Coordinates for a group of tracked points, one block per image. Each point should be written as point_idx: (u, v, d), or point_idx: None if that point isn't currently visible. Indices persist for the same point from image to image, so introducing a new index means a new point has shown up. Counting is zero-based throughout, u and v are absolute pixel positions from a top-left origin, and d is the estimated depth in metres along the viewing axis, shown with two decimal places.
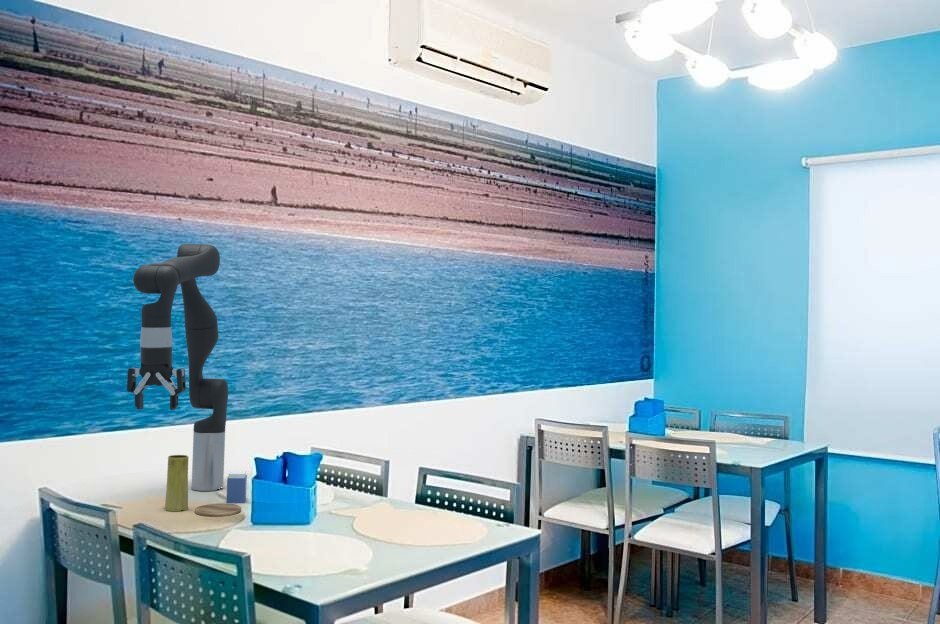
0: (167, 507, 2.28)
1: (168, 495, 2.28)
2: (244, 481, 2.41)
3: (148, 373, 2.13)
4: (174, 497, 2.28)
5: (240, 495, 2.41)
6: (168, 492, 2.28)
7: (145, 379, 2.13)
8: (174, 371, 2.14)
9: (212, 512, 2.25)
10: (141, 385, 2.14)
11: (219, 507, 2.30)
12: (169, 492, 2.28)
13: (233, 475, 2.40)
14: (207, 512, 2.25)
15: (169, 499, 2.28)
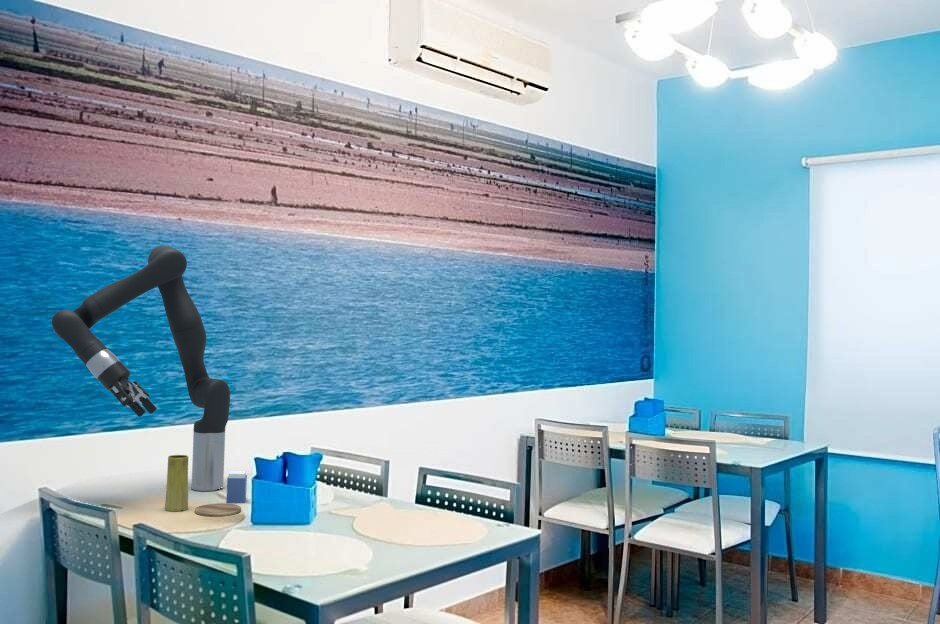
0: (167, 507, 2.28)
1: (168, 495, 2.28)
2: (244, 481, 2.41)
3: None
4: (174, 497, 2.28)
5: (240, 495, 2.41)
6: (168, 492, 2.28)
7: None
8: None
9: (212, 512, 2.25)
10: None
11: (219, 507, 2.30)
12: (169, 492, 2.28)
13: (233, 475, 2.40)
14: (207, 512, 2.25)
15: (169, 499, 2.28)
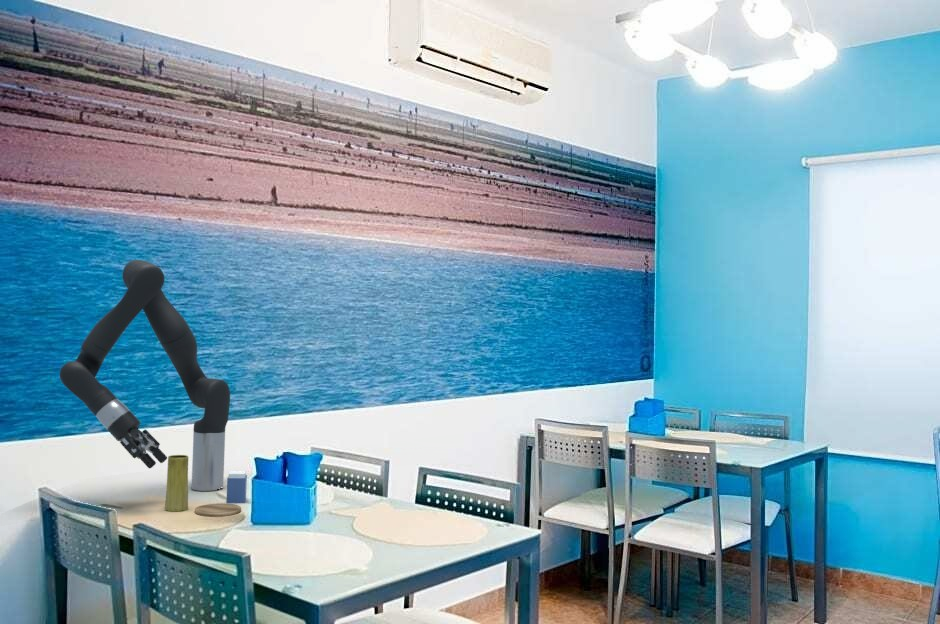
0: (167, 507, 2.28)
1: (168, 495, 2.28)
2: (244, 481, 2.41)
3: None
4: (174, 497, 2.28)
5: (240, 495, 2.41)
6: (168, 492, 2.28)
7: None
8: None
9: (212, 512, 2.25)
10: None
11: (219, 507, 2.30)
12: (169, 492, 2.28)
13: (233, 475, 2.40)
14: (207, 512, 2.25)
15: (169, 499, 2.28)
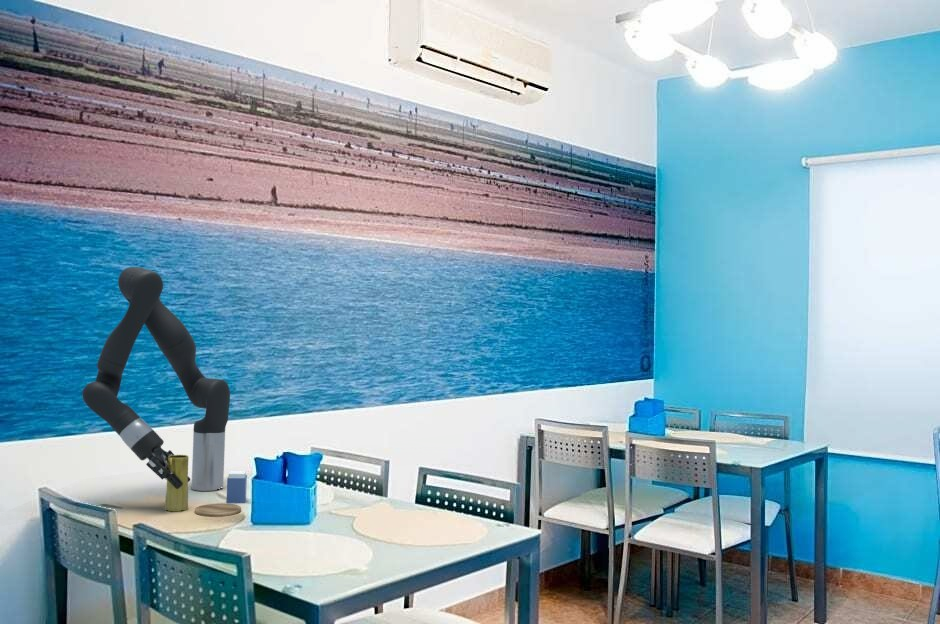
0: (167, 507, 2.28)
1: (168, 495, 2.28)
2: (244, 481, 2.41)
3: None
4: (174, 497, 2.28)
5: (240, 494, 2.41)
6: (168, 492, 2.28)
7: None
8: None
9: (212, 512, 2.25)
10: None
11: (219, 507, 2.30)
12: (169, 492, 2.28)
13: (233, 475, 2.40)
14: (207, 512, 2.25)
15: (169, 499, 2.28)
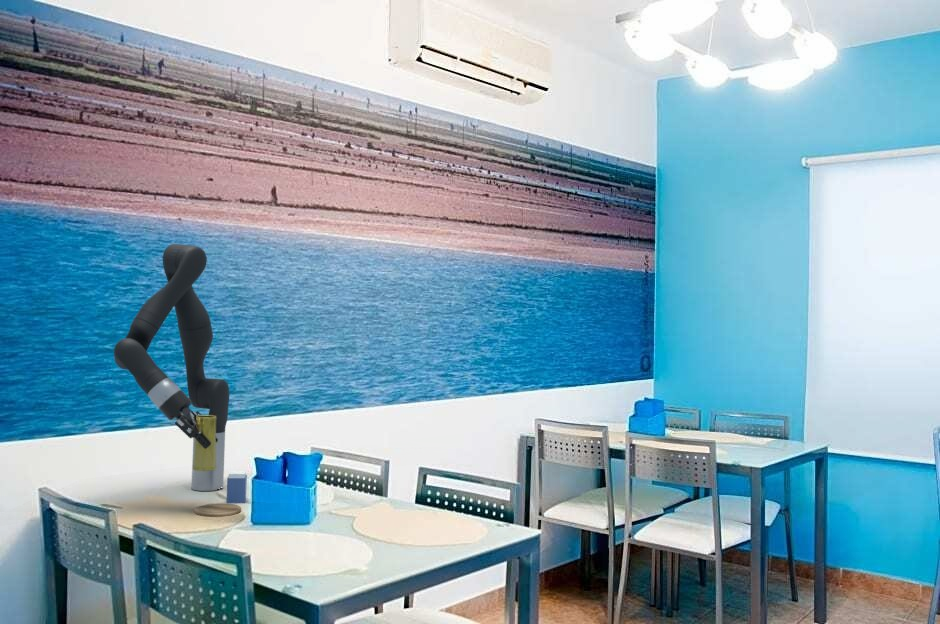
0: (195, 467, 2.28)
1: (196, 455, 2.28)
2: (244, 481, 2.41)
3: None
4: (202, 457, 2.27)
5: (240, 495, 2.41)
6: (196, 452, 2.28)
7: None
8: None
9: (212, 512, 2.25)
10: None
11: (219, 507, 2.30)
12: (197, 452, 2.28)
13: (233, 475, 2.40)
14: (207, 512, 2.25)
15: (197, 459, 2.28)
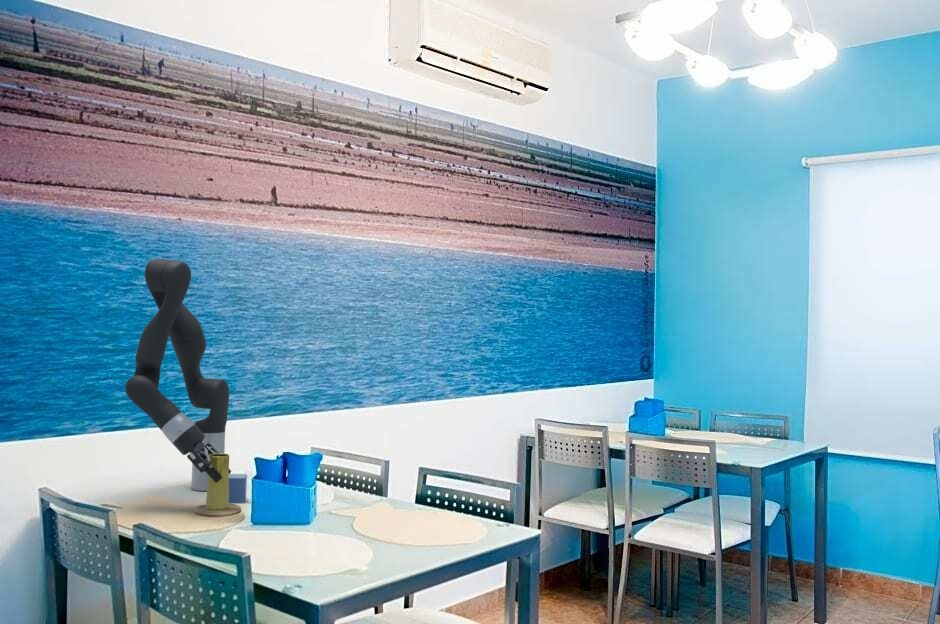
0: (208, 506, 2.27)
1: (209, 494, 2.27)
2: (244, 481, 2.41)
3: None
4: (215, 496, 2.27)
5: (240, 495, 2.41)
6: (209, 491, 2.27)
7: None
8: None
9: (212, 512, 2.25)
10: None
11: None
12: (211, 491, 2.27)
13: (233, 475, 2.40)
14: (207, 512, 2.25)
15: (210, 498, 2.27)
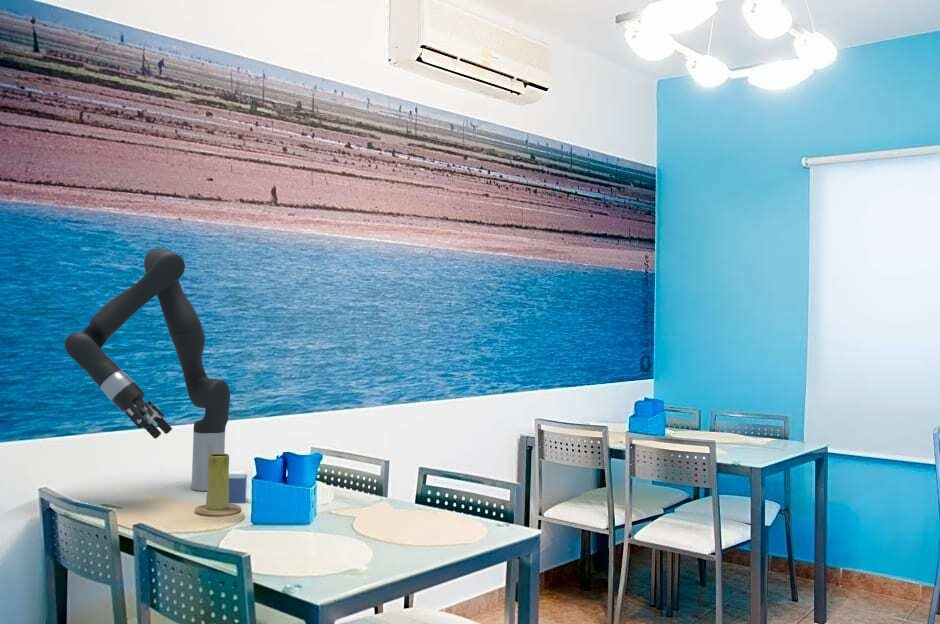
0: (208, 506, 2.27)
1: (209, 494, 2.27)
2: (244, 481, 2.41)
3: None
4: (215, 496, 2.27)
5: (240, 495, 2.41)
6: (209, 491, 2.27)
7: None
8: None
9: (212, 512, 2.25)
10: None
11: None
12: (210, 491, 2.27)
13: (233, 475, 2.40)
14: (207, 512, 2.25)
15: (210, 498, 2.27)
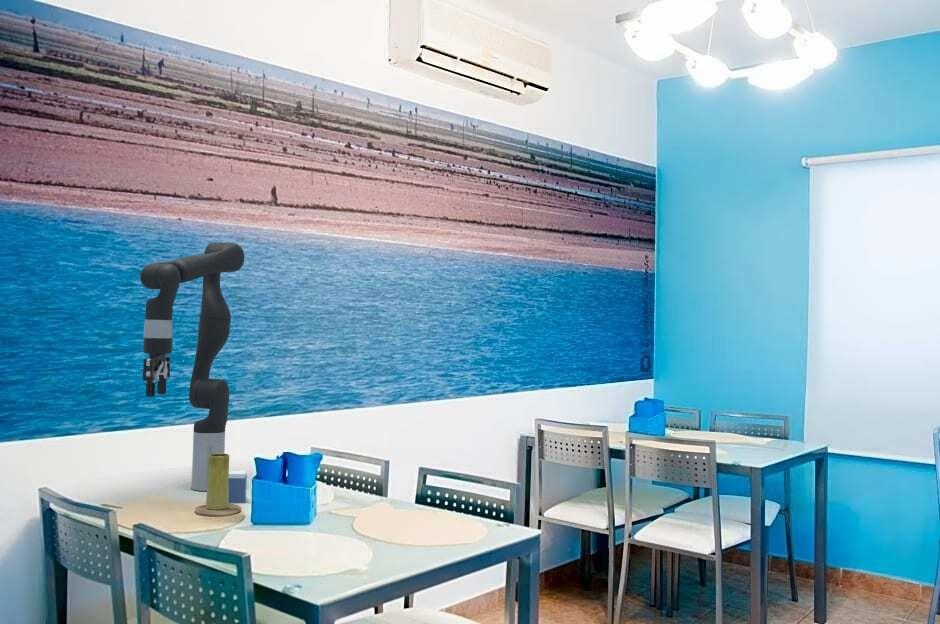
0: (208, 506, 2.27)
1: (209, 494, 2.27)
2: (244, 481, 2.41)
3: None
4: (215, 496, 2.27)
5: (240, 495, 2.41)
6: (209, 491, 2.27)
7: None
8: None
9: (212, 512, 2.25)
10: None
11: None
12: (210, 491, 2.27)
13: (233, 475, 2.40)
14: (207, 512, 2.25)
15: (210, 498, 2.27)
